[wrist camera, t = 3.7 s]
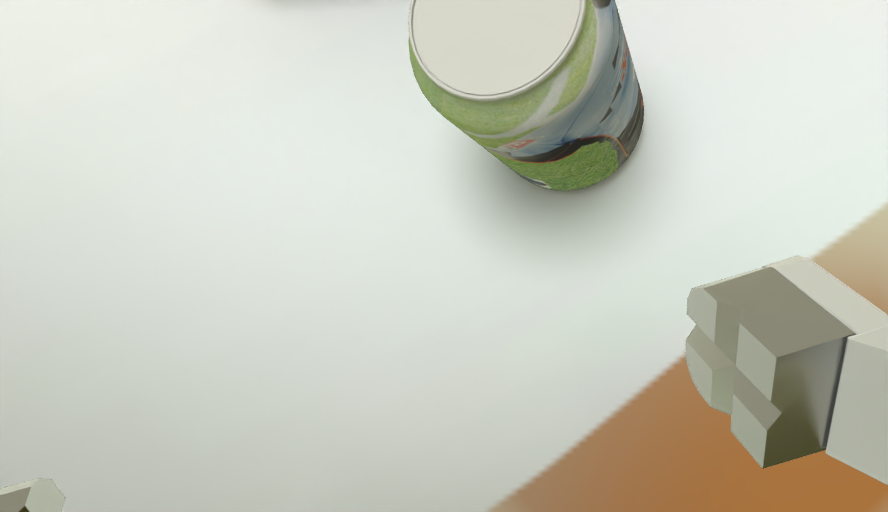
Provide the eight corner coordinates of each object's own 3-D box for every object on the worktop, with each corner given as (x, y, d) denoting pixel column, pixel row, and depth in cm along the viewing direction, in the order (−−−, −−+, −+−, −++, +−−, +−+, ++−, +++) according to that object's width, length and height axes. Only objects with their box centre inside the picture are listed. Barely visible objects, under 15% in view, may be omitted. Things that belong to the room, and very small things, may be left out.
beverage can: (673, 131, 29) (720, -35, 17) (533, 246, 29) (487, 161, 17) (572, 28, 30) (554, -186, 19) (442, 139, 31) (345, -3, 19)
